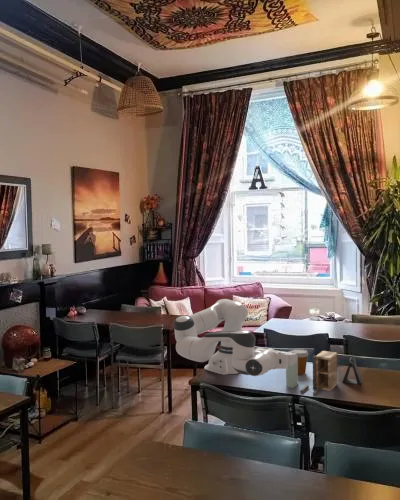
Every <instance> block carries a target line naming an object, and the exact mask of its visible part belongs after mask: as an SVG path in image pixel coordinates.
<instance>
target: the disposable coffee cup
mask: <svg viewBox="0 0 400 500" xmlns="http://www.w3.org/2000/svg"><path fill="white" fill-rule="evenodd" d="M290 352H292V353H296V354H297V357H298V376H299V375H300V376H302V375H303V376H304V375H305V374H306V371H307V370H306V369H307V360H308V356H309V353H308V350H307V349H302V348H294V349H291V350H290Z"/></svg>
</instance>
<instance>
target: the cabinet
mask: <svg viewBox="0 0 400 500" xmlns="http://www.w3.org/2000/svg"><path fill="white" fill-rule="evenodd" d="M337 385H338V353H337V352H335V351H327V350H322V351H320V352H319V353H317V355H312V389H313V390H314V391H313V392H312V396H314V397H316V396H317V395H318V394H319V393H320V392H321V391H322V390H323V391H327V392H331V391H332V390H333V389H334V388H335V387H336V386H337ZM309 387H310V386H309V384H307V385H305V386H304V387H302V388H301V389H300V394H304V393H305V392H307V390H309V389H308V388H309ZM316 388H317V389H316Z"/></svg>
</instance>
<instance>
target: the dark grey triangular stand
mask: <svg viewBox="0 0 400 500" xmlns="http://www.w3.org/2000/svg"><path fill="white" fill-rule="evenodd" d="M351 368H352V370H353V372H354V376H355V379H351V378H349V373H350V370H351ZM362 382H363V379H362V376H361V374H360V371H359V368H358V366H357V361H356V357H353V358H352V356H351V357H350V358H349V360H348V366H347V369H346V371H345V373H344V376H343V379H342V383H343V384H350V385H359V386H362Z"/></svg>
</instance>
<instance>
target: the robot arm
mask: <svg viewBox="0 0 400 500" xmlns="http://www.w3.org/2000/svg"><path fill="white" fill-rule="evenodd" d="M248 316H249V310H248V308H247V306H245V305H244V303H242V302H239V301H236V300H233V299H229V298H222V299H218V300H217V301H216V302H215V303H214V304H213V305H211V306H210V307H208V308H205V309H203V310H200V311H198V312H195V313H193V314H191V315H183V314H182V315H180V316H177V317H176V318H175V319H174V321H173V329H174V338H175V341H176V344H175V350H176V352H177V354H178V355H180V357H182V358H185V359H187V360H191V361H194V362H198V363H204V362H207V361H208V364H206V365H205V366H204V370H205V371H208V372H212V373H215V374H219V375H223V376H224V375H232V374H233V375H235V374H241V375H244V376H252V377H258V376H262V375H264V374H266V373H268V372H269V371H271V370H277V369H278V370H282V369H283V370H284V369H285V370H286V369H287V368H288V366H291V365H293V364H295V363H296V362H297V358H298V357H297V354H296V353H292V352H291V350H289V351H282V350H275V349H273V348H271V347H269V348H268V347H267V348H261V347H257V348H255V346H256V341H257V340H256V339H257V338H256V336H255V335H254V334H253V332H251V331H249V330H246V329H245V330H242V328H243V325H244V322H245V321H246V319H247V317H248ZM223 321H224V326H223V327H222V329H221V330H220V331H211V332H208V331H210V330H213V329H215V328H217V327H218V325H219V324H221V323H222V322H223ZM206 332H208V333H206ZM203 333H204V336H202V337H198V335H201V334H203ZM219 342H220V344H219ZM218 344H219V345H218ZM216 349H218V350H217V351H216Z"/></svg>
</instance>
